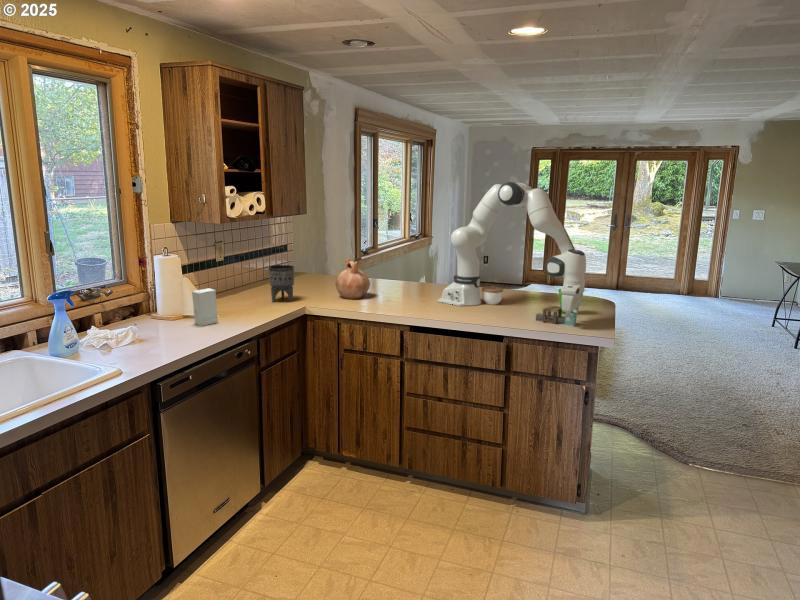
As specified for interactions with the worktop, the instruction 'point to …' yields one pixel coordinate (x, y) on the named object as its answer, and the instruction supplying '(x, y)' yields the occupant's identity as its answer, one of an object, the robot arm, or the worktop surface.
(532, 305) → the worktop surface
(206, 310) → the skincare box
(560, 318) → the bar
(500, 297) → the lidded jar
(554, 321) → the cover
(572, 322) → the block
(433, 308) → the worktop surface
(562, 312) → the cup
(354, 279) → the jug
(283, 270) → the planter
